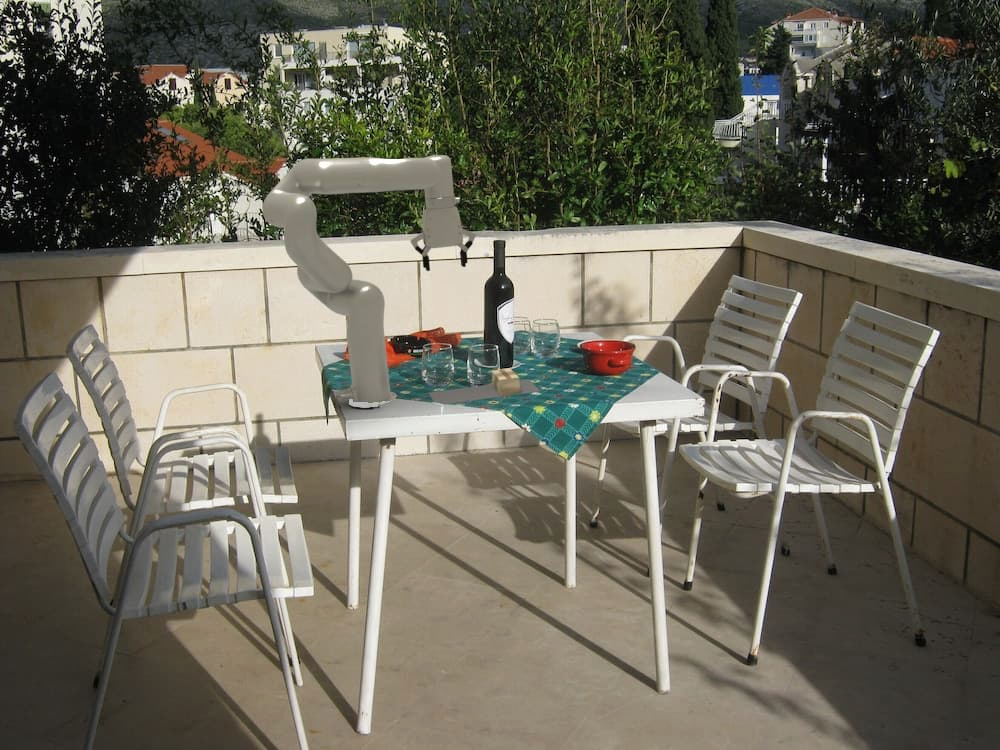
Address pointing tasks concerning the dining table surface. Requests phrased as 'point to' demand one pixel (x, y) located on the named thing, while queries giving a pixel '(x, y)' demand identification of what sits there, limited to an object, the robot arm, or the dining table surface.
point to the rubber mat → (478, 393)
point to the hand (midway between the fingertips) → (445, 268)
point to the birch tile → (505, 381)
